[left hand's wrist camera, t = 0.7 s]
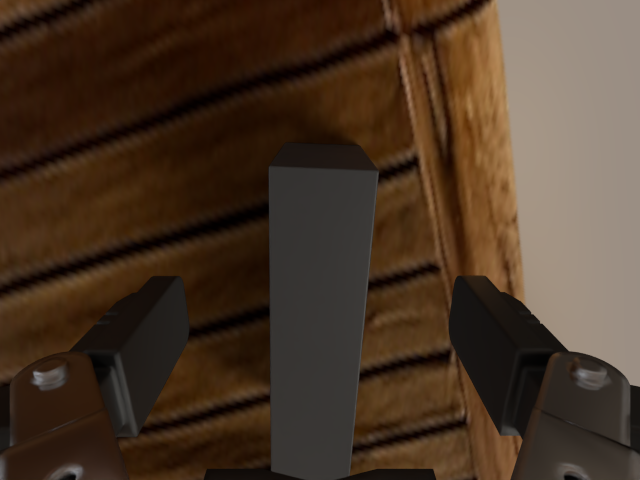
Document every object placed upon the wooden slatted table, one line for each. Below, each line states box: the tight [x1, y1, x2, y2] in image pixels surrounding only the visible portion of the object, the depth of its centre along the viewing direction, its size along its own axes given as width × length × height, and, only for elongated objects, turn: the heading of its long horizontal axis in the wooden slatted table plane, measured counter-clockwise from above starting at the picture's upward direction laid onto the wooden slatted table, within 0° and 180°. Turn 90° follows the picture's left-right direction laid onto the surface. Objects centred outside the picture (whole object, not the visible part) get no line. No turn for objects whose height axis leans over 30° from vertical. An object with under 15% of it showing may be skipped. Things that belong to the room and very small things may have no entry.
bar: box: [269, 142, 379, 480], centre depth 27 cm, size 23×5×9 cm, turn 178°
